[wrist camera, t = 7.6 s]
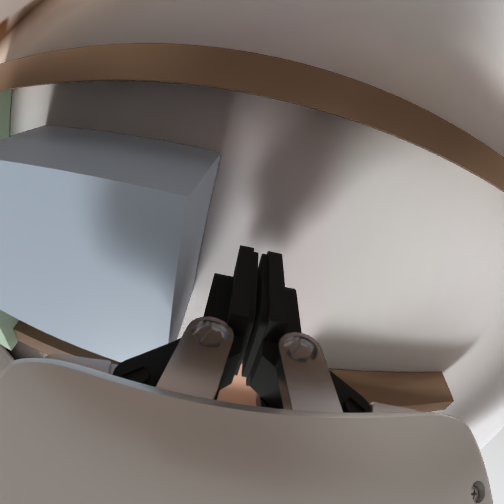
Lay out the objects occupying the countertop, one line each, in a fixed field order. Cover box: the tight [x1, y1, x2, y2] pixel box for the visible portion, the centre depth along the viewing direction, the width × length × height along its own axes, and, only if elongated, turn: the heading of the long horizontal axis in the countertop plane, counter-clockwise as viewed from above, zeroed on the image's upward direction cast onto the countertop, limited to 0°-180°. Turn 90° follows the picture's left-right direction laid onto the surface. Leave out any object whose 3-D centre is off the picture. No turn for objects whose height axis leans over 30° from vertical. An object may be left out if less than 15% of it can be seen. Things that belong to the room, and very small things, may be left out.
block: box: [0, 125, 221, 362], centre depth 10 cm, size 7×9×6 cm
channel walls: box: [0, 43, 504, 412], centre depth 14 cm, size 22×31×3 cm
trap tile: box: [217, 363, 257, 406], centre depth 18 cm, size 5×8×1 cm, turn 78°
